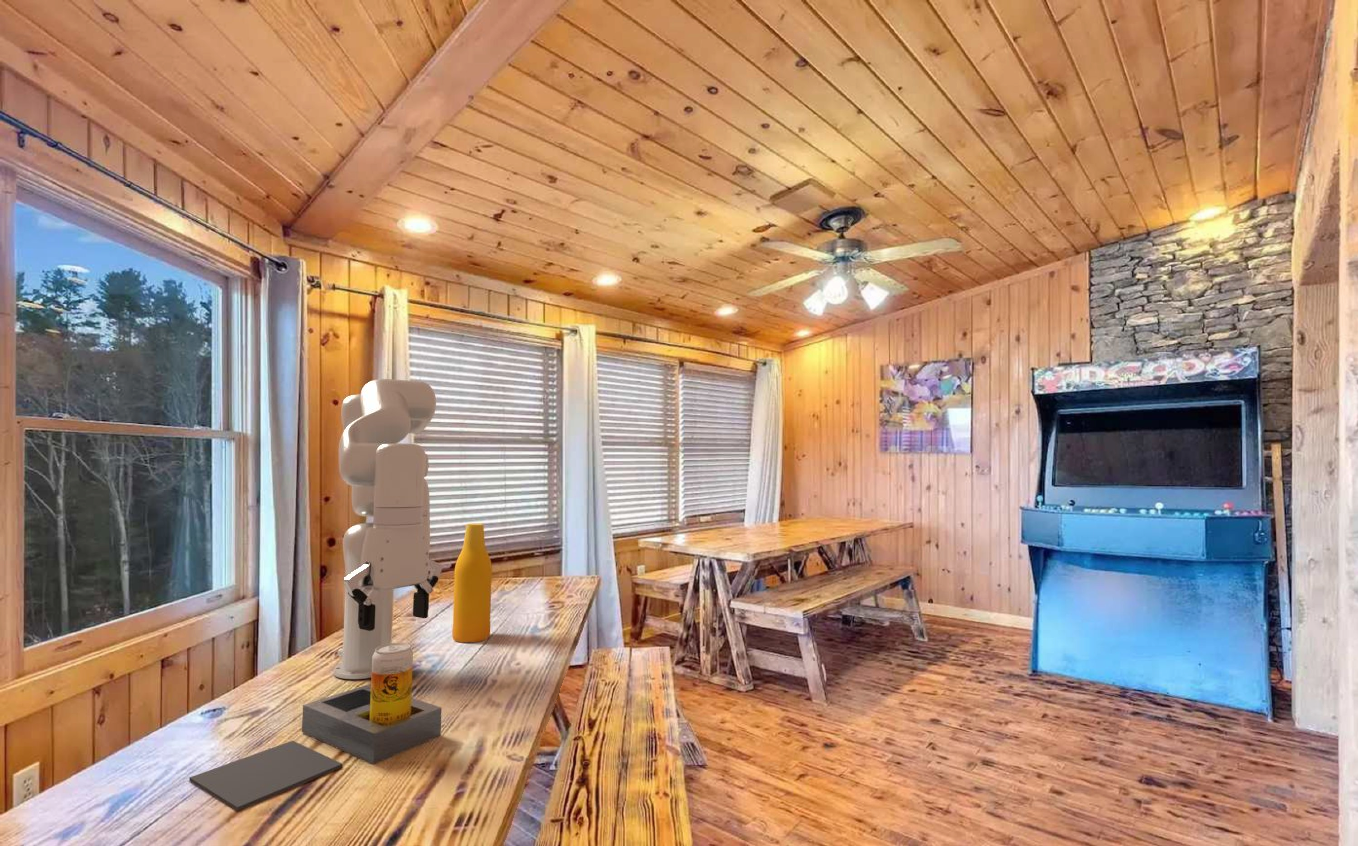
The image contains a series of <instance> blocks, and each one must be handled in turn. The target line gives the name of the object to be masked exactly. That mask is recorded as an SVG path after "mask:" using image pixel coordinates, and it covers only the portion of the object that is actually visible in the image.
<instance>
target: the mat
mask: <svg viewBox="0 0 1358 846" xmlns="http://www.w3.org/2000/svg"><path fill="white" fill-rule="evenodd" d="M343 765H344V764H343V763H342V762H340V761H338V760H335V759H334V758H331V757H329V756H327V755H324V754H323V753H320V752H318V751H316V750H314V749H312V748H310V747H308V746H305V745H303V744H301V743H299V742H297V741H294V740H290V741H287V742H285V743H281V744H279V745H277V746H274V747H272V748H268V749H266V750H262V751H259V752H257V753H254V754H251V755H248V756H246V757H243V758H240V759H238V760H234V761H231V762H229V763H226V764H224V765H219V766H217V767H214V768H212V769H209V770H206V771H203V772H201V773H198V774H196V775H191V776H190V777H189V778H188V779H189V780H188V781H189V782H190V783H191V784H193V785H195V786H196V787H198V788H200V789H201V790H203V791H204V792H205V793H208V794H209V795H210V796H212V797H214V798H215V799H217V800H218V801H220V802H222V803H224V804H225V805H227V806H228V807H230V808H232V809H233V810H235V811H236V812H238V811H241V810H243V809H246V808H248V807H251V806H253V805H255V804H258V803H260V802H263V801H264V800H268V799H270V798H272V797H274V795H275V796H277V795H280V794H281V792H282V793H284V792H287V791H289V790H291V789H294V788H296V787H299V786H300V785H303V784H305V783H308V782H310V781H313V780H315V779H317V778H319V777H323V776H324V775H328V774H329V773H332V772H334V771H336V770H339V769H342V768H343ZM286 790H287V791H286ZM276 794H277V795H276Z"/></svg>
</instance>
